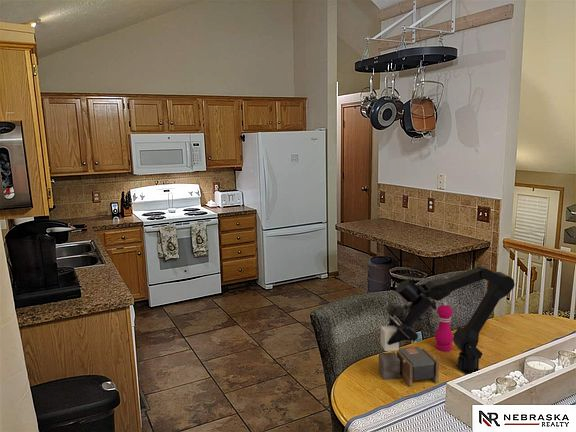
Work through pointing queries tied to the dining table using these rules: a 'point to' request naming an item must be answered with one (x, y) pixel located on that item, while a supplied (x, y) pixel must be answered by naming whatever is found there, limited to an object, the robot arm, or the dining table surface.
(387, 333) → the off-white block
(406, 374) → the frame
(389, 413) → the dining table surface
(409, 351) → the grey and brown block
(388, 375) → the stand
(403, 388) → the dining table surface
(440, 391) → the dining table surface
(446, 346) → the pepper mill
